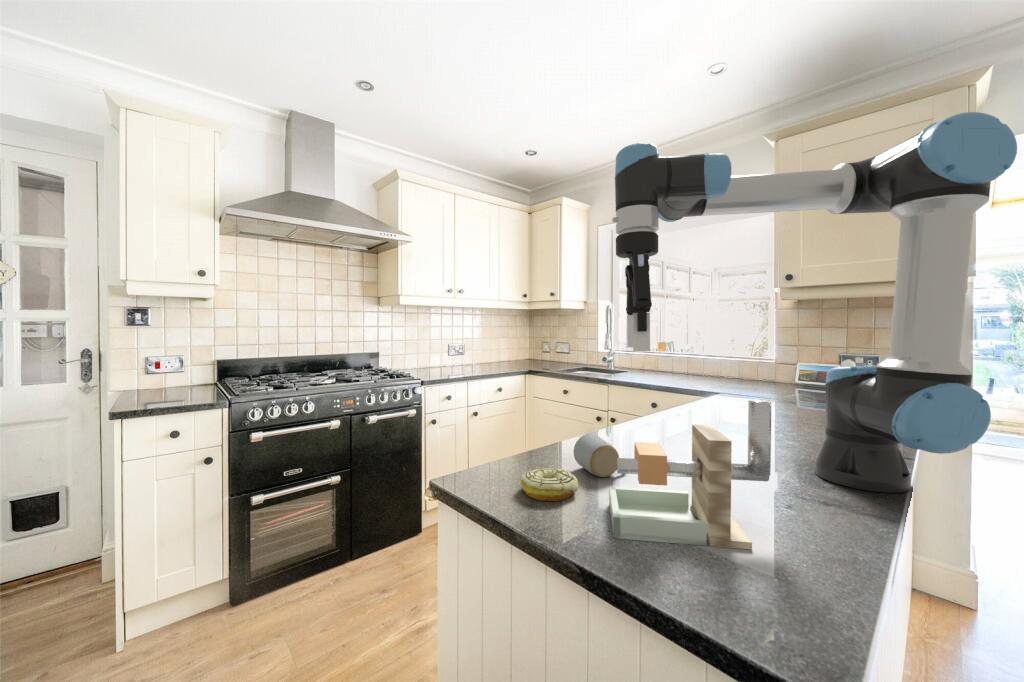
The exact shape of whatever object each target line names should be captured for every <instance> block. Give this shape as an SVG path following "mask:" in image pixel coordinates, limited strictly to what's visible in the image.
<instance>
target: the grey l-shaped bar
mask: <svg viewBox="0 0 1024 682" xmlns="http://www.w3.org/2000/svg"><path fill="white" fill-rule="evenodd" d="M747 402H748V407H747V408H748V412H747V413H748V416H747V417H748V418H747V420H748V421H747V425H748V426H747V463H732V462H731V481H733V480H734V481H735V480H737V481H748V482H749V481H750V482H751V481H752V482H769V480H770V476H771V465H772V464H771V459H772V458H771V456H772V455H771V454H772V453H771V451H772V401H771V400H766V399H765V400H764V399H749V400H748V401H747ZM616 471H617V474H620V475H621V474H626V475H638V461H637V459H634V458H628V457H627V458H626V457H619V458H617V470H616ZM702 473H703V463H702V462H692V460H691V461H690V460H689V461H687V460H668V459H667V477H676V478H677V477H678V478H681V477H682V478H692V477H694V478H702Z"/></svg>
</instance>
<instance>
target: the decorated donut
mask: <svg viewBox="0 0 1024 682" xmlns="http://www.w3.org/2000/svg"><path fill="white" fill-rule="evenodd" d="M577 478H578V477H576V476H575V475H574V474H573V473H571V472H569V471H568V470H566V469H564V468H563V469H562V468H551V467H546V468H545V467H544V468H536V469H535V468H534V469H531V470H529V471H526V472H525V473H523V474H522V476H521V477H520V479H521V480H520V487H521V488H522V490H523V491H524V493H525V494H526V495H527V496H528V497H530V498H532V499H534V500H538V501H540V502H544V501H545V502H548V501H550V502H558V501H563V500H565V499H568V498H569V497H570V496H572V495H573V494H575V493H577V491H578V489H579V481H578V479H577Z"/></svg>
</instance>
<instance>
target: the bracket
mask: <svg viewBox="0 0 1024 682" xmlns="http://www.w3.org/2000/svg"><path fill="white" fill-rule="evenodd" d="M691 430H692V431H691V461H692V462H702V463H703V473H702V478H694V477H691V503H690V504H689V506H690V507H689V509H690V511H691V513H692V515H693V517H694V518H695V520H703V521H705V522H706V523H707V543H708V544H709V547H715V546H718V547H719V546H721V547H719V548H728V547H730V548H729V549H740V550H741V549H742V550H753V541H751V539H750V538H749V537H748V535H747V534H746V532H745V531H744V530H743V528H741V526H740V525H739V523H738V522H737V521H736V519H735V517H733V515H732V480H731V463H732V448H733V447H732V440H731V439H730V438H729V437H727V436H726V435H724V434H723V433H722V432H721V431H719V430H718V429H717V428H716V427H715V426H713V425H712V424H692V426H691ZM731 547H732V548H731Z"/></svg>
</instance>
